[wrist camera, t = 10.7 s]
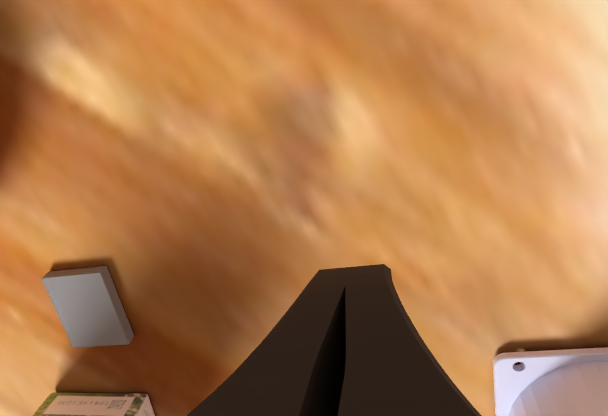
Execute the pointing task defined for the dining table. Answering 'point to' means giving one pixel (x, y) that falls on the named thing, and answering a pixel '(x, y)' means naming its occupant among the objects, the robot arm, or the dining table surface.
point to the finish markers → (88, 307)
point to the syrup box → (96, 404)
